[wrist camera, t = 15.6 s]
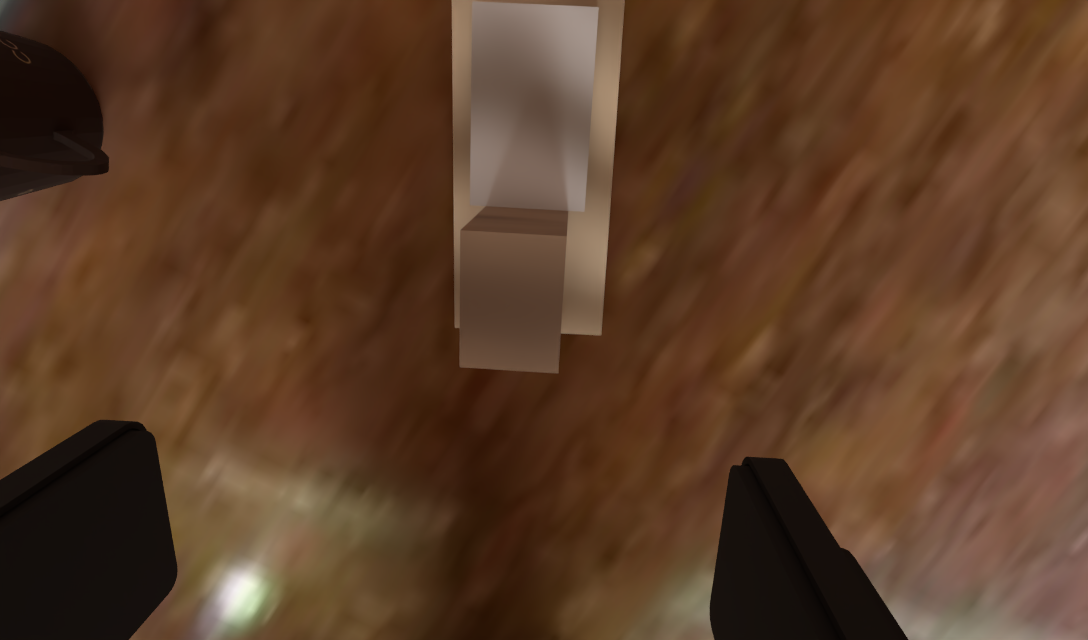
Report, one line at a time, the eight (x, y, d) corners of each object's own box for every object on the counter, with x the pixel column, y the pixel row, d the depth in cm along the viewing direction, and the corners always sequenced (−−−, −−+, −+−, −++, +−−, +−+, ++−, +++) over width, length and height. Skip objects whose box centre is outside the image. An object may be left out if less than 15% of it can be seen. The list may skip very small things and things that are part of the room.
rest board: (600, 328, 30) (601, 335, 29) (458, 321, 30) (454, 328, 29) (624, -15, 25) (626, -20, 24) (456, -20, 25) (451, -26, 24)
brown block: (576, 316, 29) (577, 374, 22) (471, 309, 29) (440, 365, 22) (598, 10, 25) (607, -31, 18) (475, 4, 25) (438, -39, 18)
